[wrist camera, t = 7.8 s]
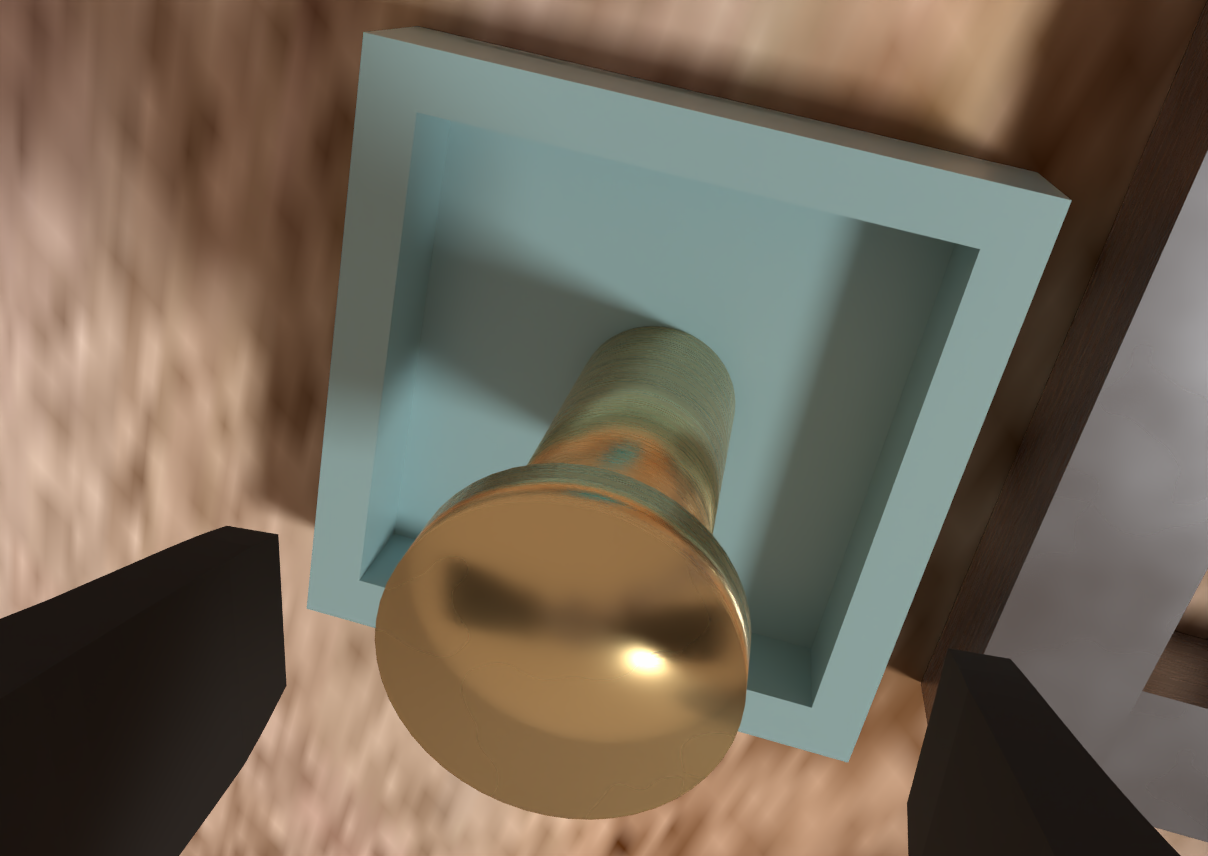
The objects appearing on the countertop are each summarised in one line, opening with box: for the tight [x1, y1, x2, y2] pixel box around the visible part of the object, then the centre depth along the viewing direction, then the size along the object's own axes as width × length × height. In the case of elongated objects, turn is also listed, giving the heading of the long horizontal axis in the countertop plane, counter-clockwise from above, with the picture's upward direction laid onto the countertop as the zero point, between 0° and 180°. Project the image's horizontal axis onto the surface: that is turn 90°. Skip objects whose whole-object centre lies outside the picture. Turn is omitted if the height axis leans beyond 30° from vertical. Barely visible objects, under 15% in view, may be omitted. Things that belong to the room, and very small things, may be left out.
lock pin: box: [375, 326, 752, 820], centre depth 16 cm, size 4×4×8 cm
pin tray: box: [307, 26, 1072, 762], centre depth 19 cm, size 11×11×2 cm
